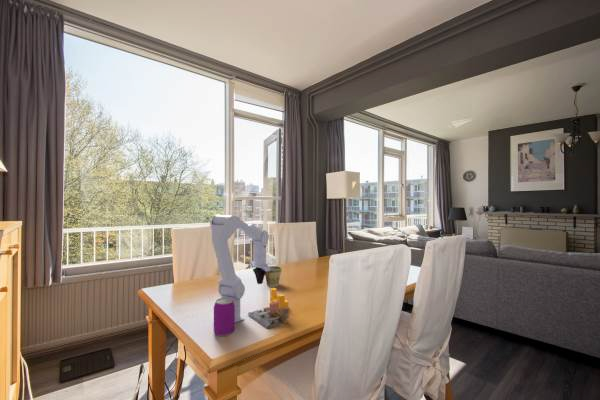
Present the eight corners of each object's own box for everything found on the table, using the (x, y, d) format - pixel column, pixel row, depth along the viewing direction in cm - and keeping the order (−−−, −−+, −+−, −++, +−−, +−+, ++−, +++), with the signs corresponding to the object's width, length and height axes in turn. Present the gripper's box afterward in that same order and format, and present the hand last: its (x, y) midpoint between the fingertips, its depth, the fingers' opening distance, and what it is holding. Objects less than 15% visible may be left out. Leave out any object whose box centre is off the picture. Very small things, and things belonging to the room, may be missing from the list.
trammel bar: (269, 327, 113) (269, 313, 113) (250, 315, 124) (250, 302, 124) (288, 321, 118) (288, 308, 118) (269, 310, 130) (269, 298, 130)
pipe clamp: (288, 308, 132) (288, 294, 132) (279, 310, 130) (279, 296, 130) (278, 300, 143) (278, 287, 143) (270, 301, 141) (270, 288, 141)
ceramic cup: (280, 288, 162) (280, 270, 162) (263, 287, 163) (263, 270, 163) (282, 281, 175) (282, 264, 175) (266, 281, 176) (266, 264, 176)
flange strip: (267, 328, 112) (267, 324, 112) (248, 315, 124) (248, 311, 124) (280, 324, 115) (280, 320, 115) (260, 312, 128) (260, 308, 128)
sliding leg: (260, 317, 118) (260, 307, 118) (257, 315, 120) (257, 306, 120) (279, 312, 124) (279, 302, 124) (276, 310, 125) (276, 301, 125)
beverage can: (235, 327, 113) (235, 296, 113) (233, 336, 105) (234, 303, 105) (215, 328, 112) (215, 297, 112) (212, 337, 104) (212, 304, 104)
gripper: (275, 256, 134) (275, 285, 134) (259, 251, 145) (259, 278, 145) (262, 258, 130) (262, 288, 130) (247, 253, 141) (247, 281, 141)
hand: (259, 283), depth 137 cm, fingers closed
